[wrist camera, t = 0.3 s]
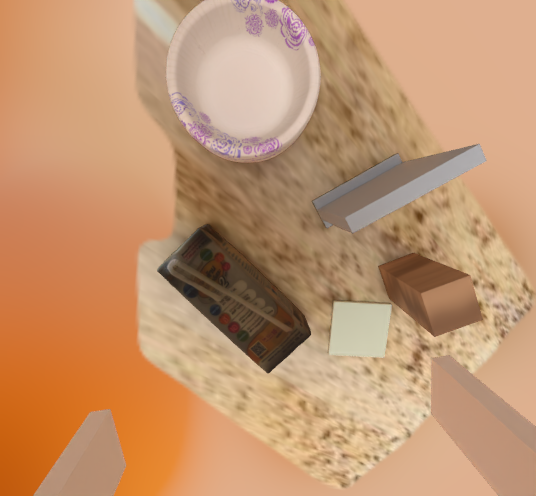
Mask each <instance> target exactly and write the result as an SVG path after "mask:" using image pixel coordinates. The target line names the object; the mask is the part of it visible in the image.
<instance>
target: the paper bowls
mask: <svg viewBox="0 0 536 496" xmlns="http://www.w3.org/2000/svg"><path fill="white" fill-rule="evenodd" d="M320 80H321V72H320V63H319V57H318V53H317V49H316V46H315V44H314V42H313V39H312V37H311V35H310V33H309V31H308V29H307V28H306V26H305V25H304V24H303V22H302V21H301V19H300V18H299V17H298V16H297V15H296V14H295V13H294V12H293V11H292V10H291V9H290V8H289V7H288V6H286V5H284V4H283V3H282V2H280V1H279V0H204V1H202V2H201V3H199V4H198V5H197V6H196V7H194V8H193V9H192V10H191V11H190V12H189V13H188V14H187V15H186V16H185V18H184V19H183V20H182V22H181V23H180V25H179V26H178V28H177V30H176V32H175V34H174V36H173V38H172V41H171V44H170V46H169V51H168V55H167V62H166V82H167V89H168V94H169V97H170V101H171V104H172V107H173V109H174V111H175V113H176V115H177V117H178V119H179V121H180V122H181V124H182V125H183V126H184V128H185V129H186V130H187V132H188V133H189V134H190V135H191V136H192V137H193V138H194V139H195V140H196V141H197V142H199V143H200V144H201V145H202V146H203V147H205V148H206V149H207V150H208V151H210V152H211V153H213V154H215V155H217V156H219V157H221V158H224V159H227V160H230V161H234V162H243V163H252V162H261V161H266V160H268V159H271V158H273V157H275V156H277V155H279V154H280V153H282V152H284V151H285V150H286V149H288V148H289V147H290V146H291V145H292V144H293V143H294V142H295V141H296V140H297V138H298V137H299V136H300V134H301V133H302V131H303V130H304V129H305V127H306V125H307V124H308V122H309V120H310V118H311V116H312V114H313V111H314V109H315V106H316V103H317V100H318V95H319V88H320Z"/></svg>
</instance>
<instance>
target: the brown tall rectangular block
mask: <svg viewBox="0 0 536 496" xmlns="http://www.w3.org/2000/svg"><path fill="white" fill-rule="evenodd" d="M378 267H379V270H380V273H381V276H382V279H383V282H384V285H385V288H386V291H387V293H388V296H389V299H390V300H392V301H393V302H394V303H395V304H396V305H398V306H399V307H400V308H401V309H402V310H403V311H405V312H406V313H407V314H408V315H409V316H411V317H412V318H413V319H414V320H415V321H416V322H418V323H419V324H420V325H421V326H422V327H424V328H425V329H426V330H427V331H428V332H430V333H431V334H432V335H433V336H434V337H436V336H439V335H441V334H444V333H447V332H450V331H453V330H455V329H458V328H461V327H464V326H466V325H469V324H472V323H475V322H478V321H480V320H483V319H482V316H481V312H480V308H479V305H478V301H477V298H476V294H475V290H474V287H473V283H472V280H471V276H470V275H468V274H466V273H463V272H461V271H458V270H456V269H453V268H451V267H448V266H446V265H443V264H440V263H438V262H435V261H433V260H430V259H428V258H425V257H423V256H420V255H418V254H415V253H412V254H409V255H406V256H404V257H401V258H398V259H396V260H393V261H391V262H388V263H385V264H383V265H380V266H378Z"/></svg>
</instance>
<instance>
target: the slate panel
mask: <svg viewBox="0 0 536 496" xmlns="http://www.w3.org/2000/svg"><path fill="white" fill-rule="evenodd" d="M485 161H486V158H485V156H484V154H483V151H482V149H481V146H480V144H477V145H472V146H468V147H464V148H460V149H456V150H452V151H448V152H443V153H439V154H435V155H431V156H427V157H423V158H419V159H414V160H410V161H406V162H402V161H401V158H400V156H399V154H395V155H393V156H391V157H390V158H388V159H386V160H384V161H382V162H381V163H379V164H377V165H375V166H374V167H372V168H370V169H368V170H366V171H365V172H363V173H361V174H359V175H358V176H356V177H354V178H352V179H350V180H349V181H347V182H345V183H343V184H341V185H340V186H338V187H336V188H334V189H333V190H331V191H329V192H327V193H325V194H324V195H322V196H320V197H318V198H317V199H315V200H313V201H312V202H313V204H314V206H315V208H316V210H317V212H318V214H319V216H320V217H321V219H322V221H323V223H324V225H325V227H326V228H329V227H330V226H332V225H335V226H337V227H340V228H342V229H344V230H346V231H349V232H351V233H355V232H356V231H358V230H360V229H362V228H364V227H366V226H367V225H369V224H371V223H373V222H375V221H377V220H378V219H380V218H382V217H384V216H386V215H388V214H390V213H391V212H393V211H395V210H397V209H399V208H401V207H402V206H404V205H406V204H408V203H410V202H412V201H413V200H415V199H417V198H419V197H421V196H423V195H424V194H426V193H428V192H430V191H432V190H434V189H436V188H437V187H439V186H441V185H443V184H445V183H447V182H448V181H450V180H452V179H454V178H456V177H458V176H459V175H461V174H463V173H465V172H467V171H468V170H470V169H472V168H474V167H476V166H478V165H480V164H482V163H483V162H485Z"/></svg>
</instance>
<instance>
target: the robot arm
mask: <svg viewBox="0 0 536 496" xmlns="http://www.w3.org/2000/svg"><path fill="white" fill-rule="evenodd" d="M431 414H432V415H433V417H434V418H435V419H436V420H437V422H438V423H439V424H440V425H441V426H442V428H443V429H444V430H445V431H446V433H447V434H448V435H449V436H450V437H451V439H452V440H453V441H454V442H455V443H456V445H457V446H458V447H459V448H460V450H461V451H462V452H463V453H464V454H465V456H466V457H467V458H468V459H469V461H470V462H471V463H472V464H473V465H474V467H475V468H476V469H477V470H478V472H480V474H481V475H482V476H483V478H484V479H485V480H486V481H487V482H488V484H489V485H490V486H491V487H492V489H493V490H494V491H495V492H496V493H497V495H498V496H536V426H534V425H533V424H532V423H531V422H530V421H528V420H527V419H526V418H525V417H523V416H522V415H521V414H520V413H519V412H517V411H516V410H515V409H514V408H512V407H511V406H510V405H509V404H508V403H506V402H505V401H504V400H503V399H502V398H500V397H499V396H498V395H497V394H496V393H494V392H493V391H492V390H491V389H490V388H488V387H487V386H486V385H485V384H483V383H482V382H481V381H480V380H479V379H477V378H476V377H475V376H474V375H473V374H471V373H470V372H469V371H468V370H466V369H465V368H464V367H463V366H462V365H460V364H459V363H458V362H457V361H456V360H454V359H453V358H452V357H451V356H450V355H447V356H441V357H435V358H432V367H431ZM125 467H126V463H125V460H124V456H123V452H122V449H121V445H120V442H119V438H118V435H117V431H116V428H115V424H114V421H113V417H112V413H111V410H110V409H108V410H102V411H95V412H90V413H89V415H88V416H87V418H86V419H85V421H84V422H83V424H82V425H81V427H80V428H79V429H78V431H77V433H76V434H75V435H74V437H73V438H72V440H71V441H70V443H69V444H68V446H67V447H66V449H65V450H64V451H63V453H62V454H61V456H60V457H59V459H58V460H57V462H56V463H55V465H54V466H53V468H52V469H51V471H50V472H49V473H48V475H47V476H46V478H45V479H44V481H43V482H42V484H41V485H40V487H39V488H38V490H37V491H36V492H35V494H34V496H113V495H114V493H115V491H116V488H117V486H118V483H119V481H120V479H121V476H122V474H123V472H124V469H125Z"/></svg>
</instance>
